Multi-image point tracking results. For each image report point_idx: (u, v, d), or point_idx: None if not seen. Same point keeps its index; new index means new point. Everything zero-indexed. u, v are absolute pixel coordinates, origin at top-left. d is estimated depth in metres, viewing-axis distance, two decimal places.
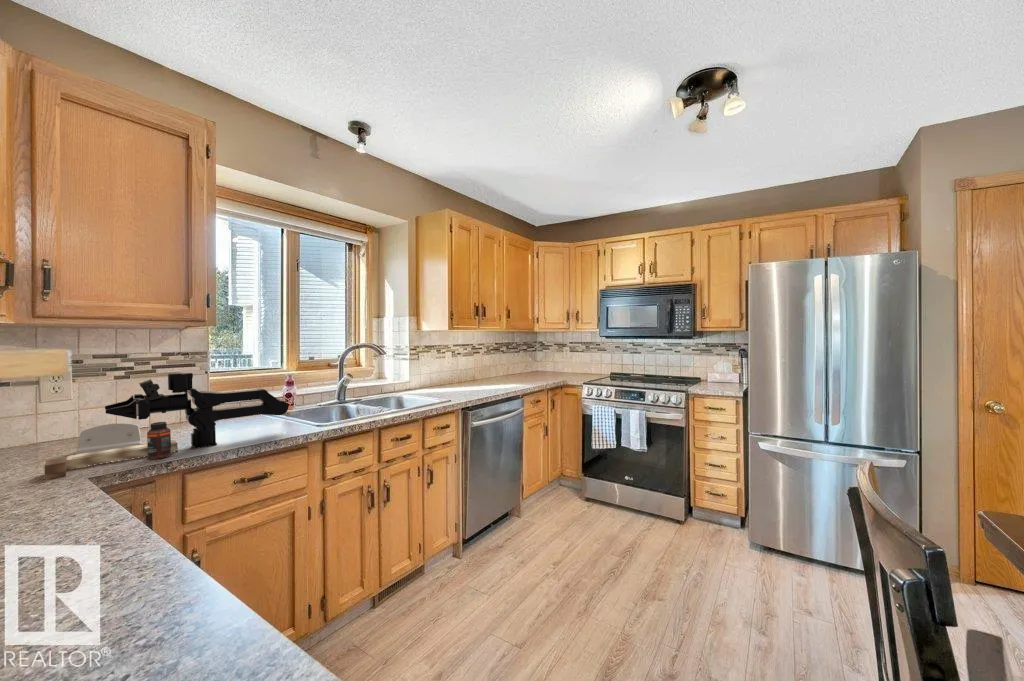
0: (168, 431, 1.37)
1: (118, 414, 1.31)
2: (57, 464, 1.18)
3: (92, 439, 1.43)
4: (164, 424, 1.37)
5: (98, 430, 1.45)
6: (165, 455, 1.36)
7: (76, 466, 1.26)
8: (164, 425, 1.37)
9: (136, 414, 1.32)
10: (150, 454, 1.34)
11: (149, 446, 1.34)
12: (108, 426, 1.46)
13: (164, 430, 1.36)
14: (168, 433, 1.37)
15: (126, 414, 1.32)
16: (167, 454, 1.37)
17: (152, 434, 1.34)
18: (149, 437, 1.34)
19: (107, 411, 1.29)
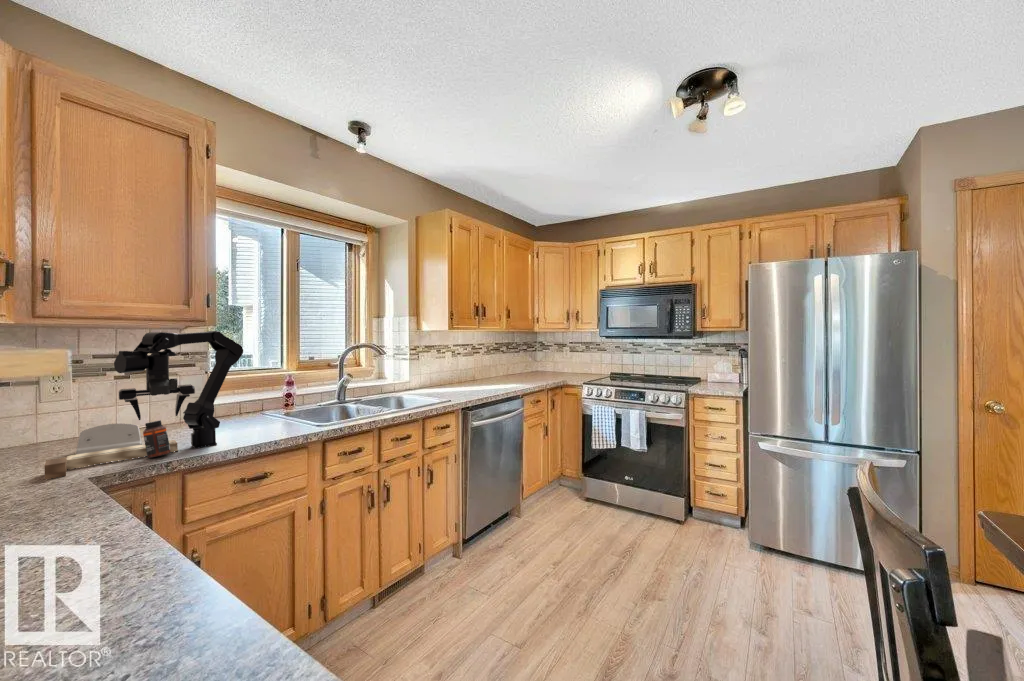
0: (163, 428, 1.37)
1: None
2: (57, 464, 1.18)
3: (92, 439, 1.43)
4: (158, 422, 1.37)
5: (98, 430, 1.45)
6: (163, 452, 1.36)
7: (76, 466, 1.26)
8: (158, 423, 1.37)
9: None
10: (148, 452, 1.34)
11: (146, 445, 1.34)
12: (108, 426, 1.46)
13: (159, 427, 1.36)
14: (164, 430, 1.37)
15: None
16: (165, 451, 1.37)
17: (147, 432, 1.34)
18: (145, 436, 1.34)
19: (177, 414, 1.40)
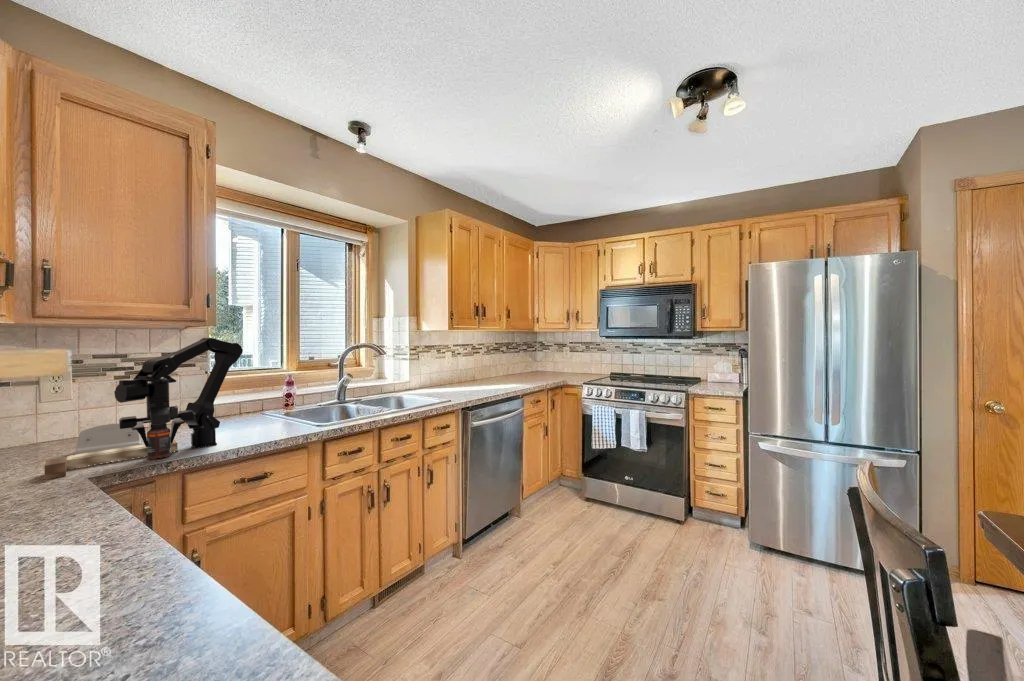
0: (167, 431, 1.37)
1: None
2: (57, 464, 1.18)
3: (91, 439, 1.43)
4: (163, 424, 1.37)
5: (97, 430, 1.44)
6: (163, 455, 1.36)
7: (76, 466, 1.26)
8: (163, 425, 1.37)
9: None
10: (148, 454, 1.34)
11: (148, 446, 1.34)
12: (107, 426, 1.46)
13: (162, 430, 1.36)
14: (167, 433, 1.37)
15: None
16: (165, 454, 1.36)
17: (150, 434, 1.34)
18: (148, 437, 1.34)
19: (172, 441, 1.39)
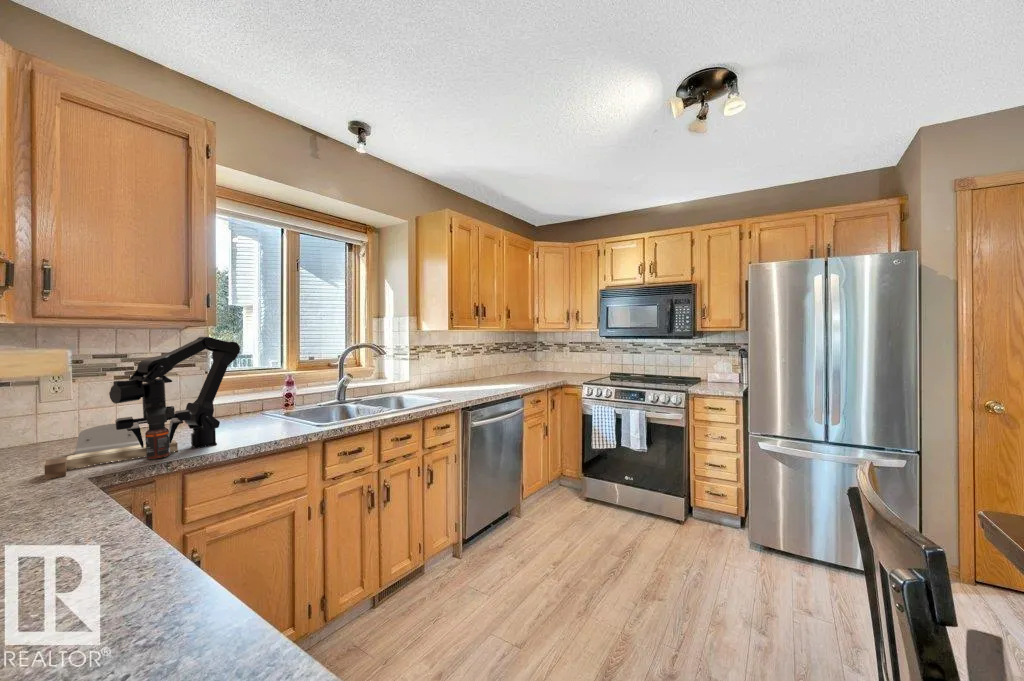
0: (165, 431, 1.37)
1: None
2: (57, 464, 1.18)
3: (91, 439, 1.43)
4: (161, 424, 1.36)
5: (97, 430, 1.44)
6: (162, 455, 1.36)
7: (76, 466, 1.26)
8: (161, 425, 1.36)
9: None
10: (147, 454, 1.34)
11: (147, 446, 1.34)
12: (107, 426, 1.46)
13: (161, 430, 1.36)
14: (165, 433, 1.37)
15: None
16: (164, 454, 1.36)
17: (149, 434, 1.34)
18: (146, 437, 1.34)
19: (171, 441, 1.39)
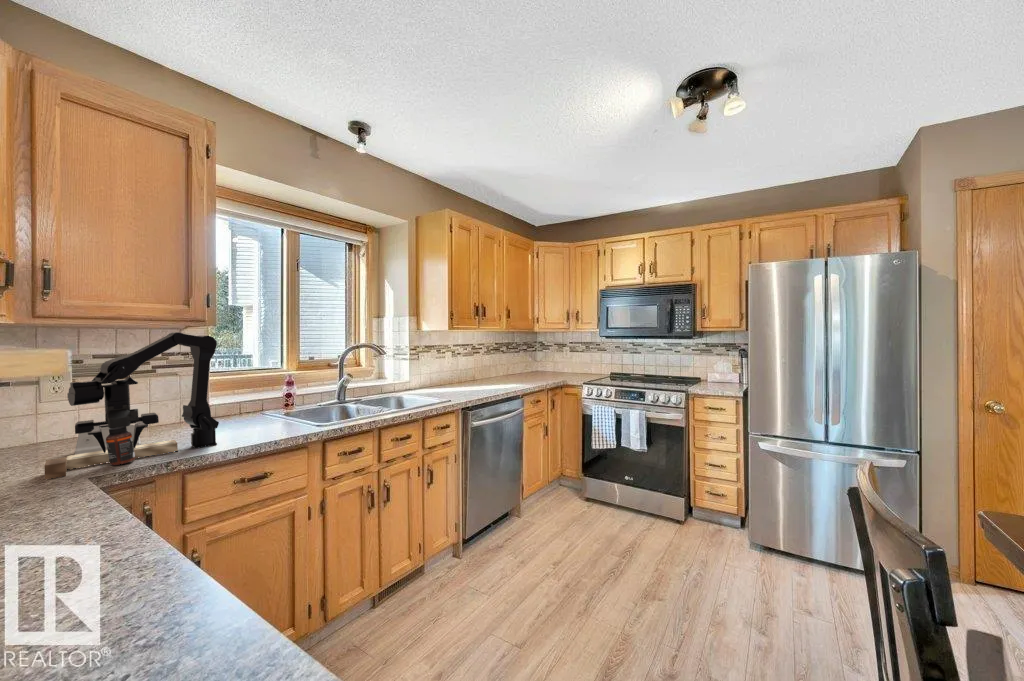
0: (127, 436, 1.30)
1: None
2: (57, 464, 1.18)
3: (91, 439, 1.43)
4: (122, 428, 1.30)
5: None
6: (126, 461, 1.29)
7: (76, 466, 1.26)
8: (122, 429, 1.30)
9: None
10: (110, 460, 1.28)
11: (108, 452, 1.28)
12: None
13: (122, 435, 1.29)
14: (127, 438, 1.30)
15: None
16: (128, 459, 1.30)
17: (109, 439, 1.27)
18: (107, 443, 1.28)
19: (135, 446, 1.33)
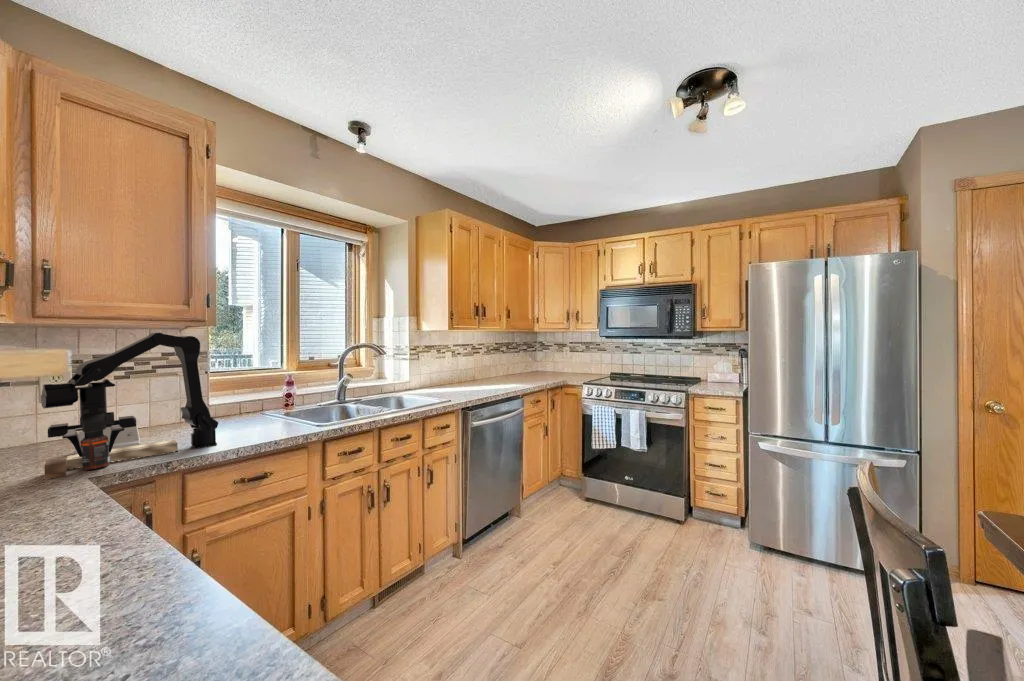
0: (103, 439, 1.26)
1: None
2: (57, 464, 1.18)
3: None
4: (99, 432, 1.26)
5: None
6: (100, 465, 1.25)
7: (76, 466, 1.26)
8: (99, 433, 1.26)
9: None
10: (83, 464, 1.24)
11: (82, 455, 1.24)
12: None
13: (98, 438, 1.25)
14: (103, 441, 1.26)
15: None
16: (102, 464, 1.26)
17: (84, 442, 1.23)
18: (81, 446, 1.24)
19: None
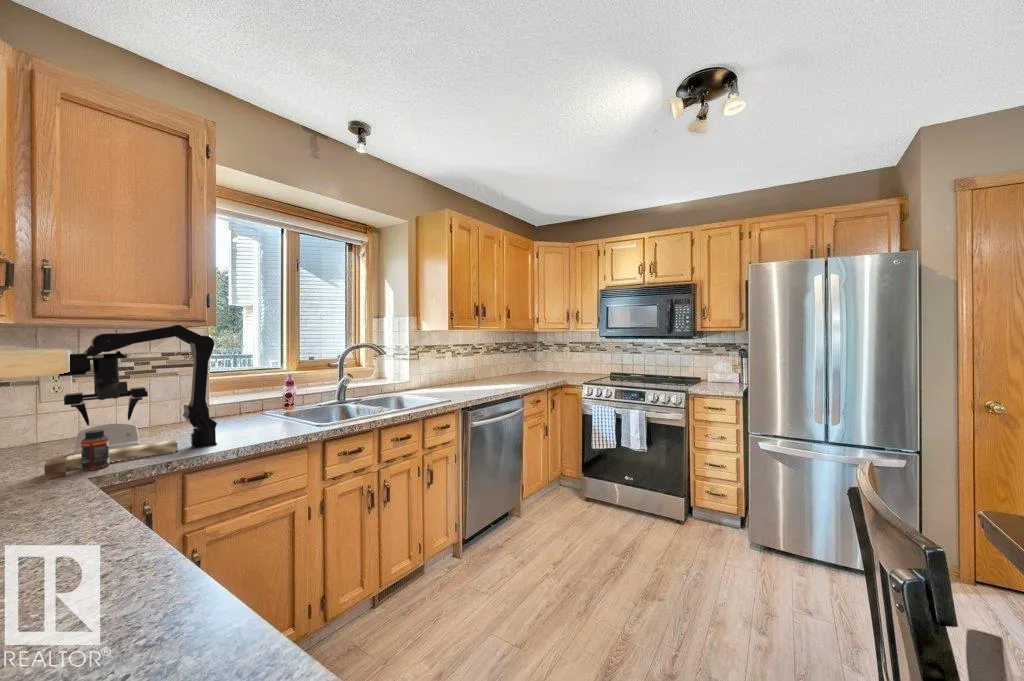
0: (104, 440, 1.26)
1: None
2: (57, 464, 1.18)
3: None
4: (99, 432, 1.26)
5: None
6: (99, 466, 1.25)
7: (76, 466, 1.26)
8: (99, 433, 1.26)
9: None
10: (83, 465, 1.24)
11: (82, 456, 1.24)
12: (106, 426, 1.46)
13: (98, 439, 1.25)
14: (103, 442, 1.26)
15: None
16: (102, 465, 1.26)
17: (84, 443, 1.24)
18: (82, 447, 1.24)
19: None
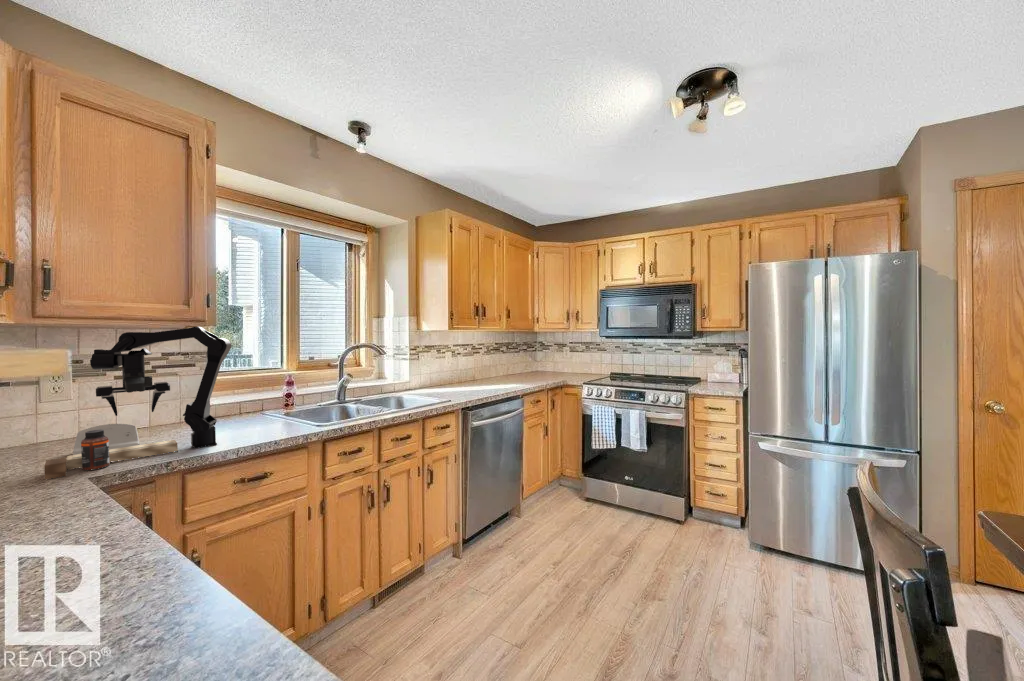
0: (104, 440, 1.26)
1: None
2: (57, 464, 1.18)
3: None
4: (99, 432, 1.26)
5: None
6: (99, 466, 1.25)
7: (76, 466, 1.26)
8: (99, 433, 1.26)
9: None
10: (83, 465, 1.24)
11: (82, 456, 1.24)
12: (105, 426, 1.46)
13: (98, 439, 1.25)
14: (104, 442, 1.26)
15: None
16: (102, 465, 1.26)
17: (84, 443, 1.24)
18: (82, 447, 1.24)
19: (153, 410, 1.47)
